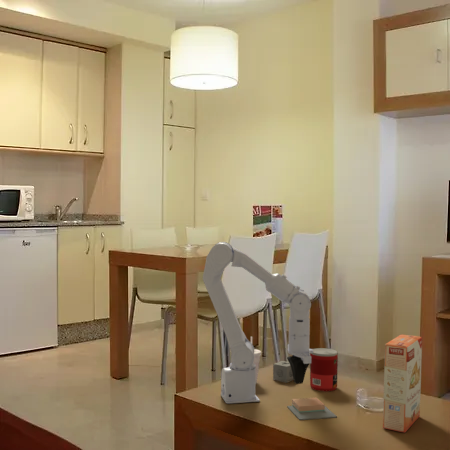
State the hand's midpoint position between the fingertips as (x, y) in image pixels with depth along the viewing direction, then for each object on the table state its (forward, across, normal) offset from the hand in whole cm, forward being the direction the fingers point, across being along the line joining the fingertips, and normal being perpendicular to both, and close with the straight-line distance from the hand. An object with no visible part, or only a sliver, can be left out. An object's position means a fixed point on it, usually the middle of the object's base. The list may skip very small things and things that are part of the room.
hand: (298, 383), depth 167 cm
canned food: (+5, +9, -11) cm, 15 cm away
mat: (+5, -10, 0) cm, 11 cm away
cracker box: (+5, -22, -20) cm, 30 cm away
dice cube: (+5, +20, -2) cm, 20 cm away
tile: (+4, -8, 0) cm, 8 cm away
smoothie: (+5, +18, +9) cm, 21 cm away
